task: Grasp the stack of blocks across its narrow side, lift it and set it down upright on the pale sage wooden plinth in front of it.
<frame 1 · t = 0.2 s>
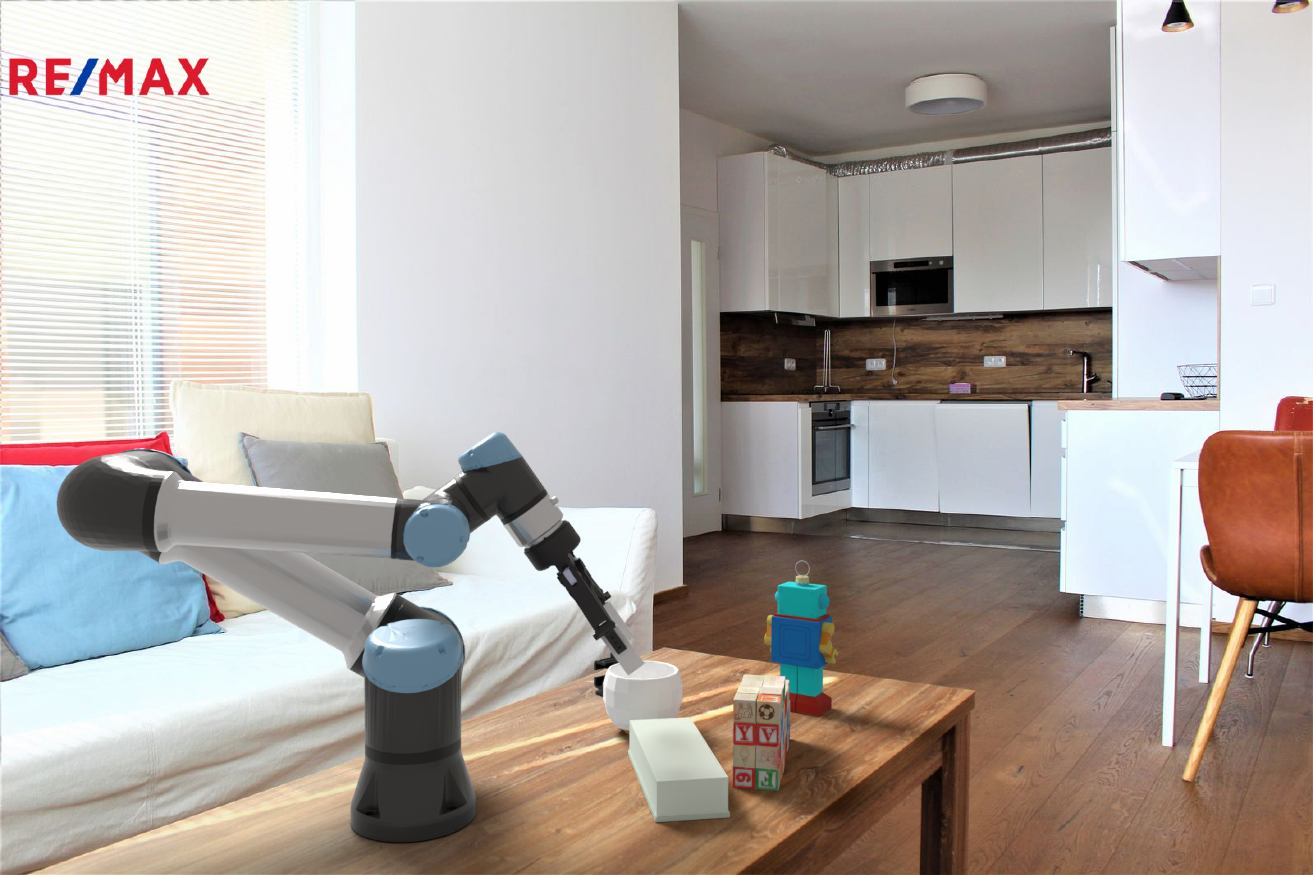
hand: (631, 654, 145), 16 cm above the table, tool tilted 35°, fingers open, 13 cm apart
cup: (642, 732, 161), on the table
stack of blocks: (763, 764, 148), on the table
plinth: (674, 783, 139), on the table
toy robot: (801, 710, 172), on the table
end cap: (626, 697, 180), on the table
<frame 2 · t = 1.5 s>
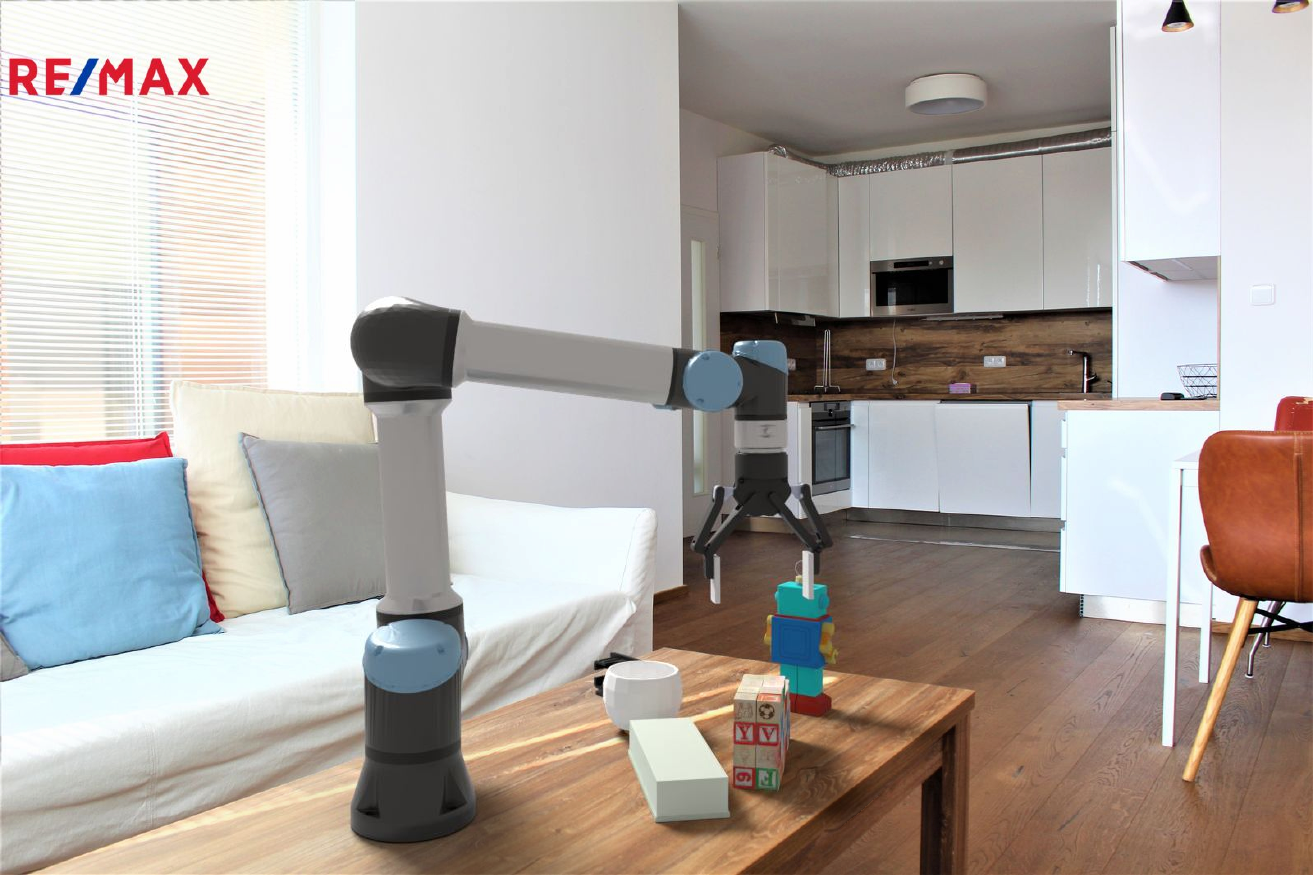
hand: (762, 599, 147), 23 cm above the table, tool pointing down, fingers open, 13 cm apart
nothing on the table moved.
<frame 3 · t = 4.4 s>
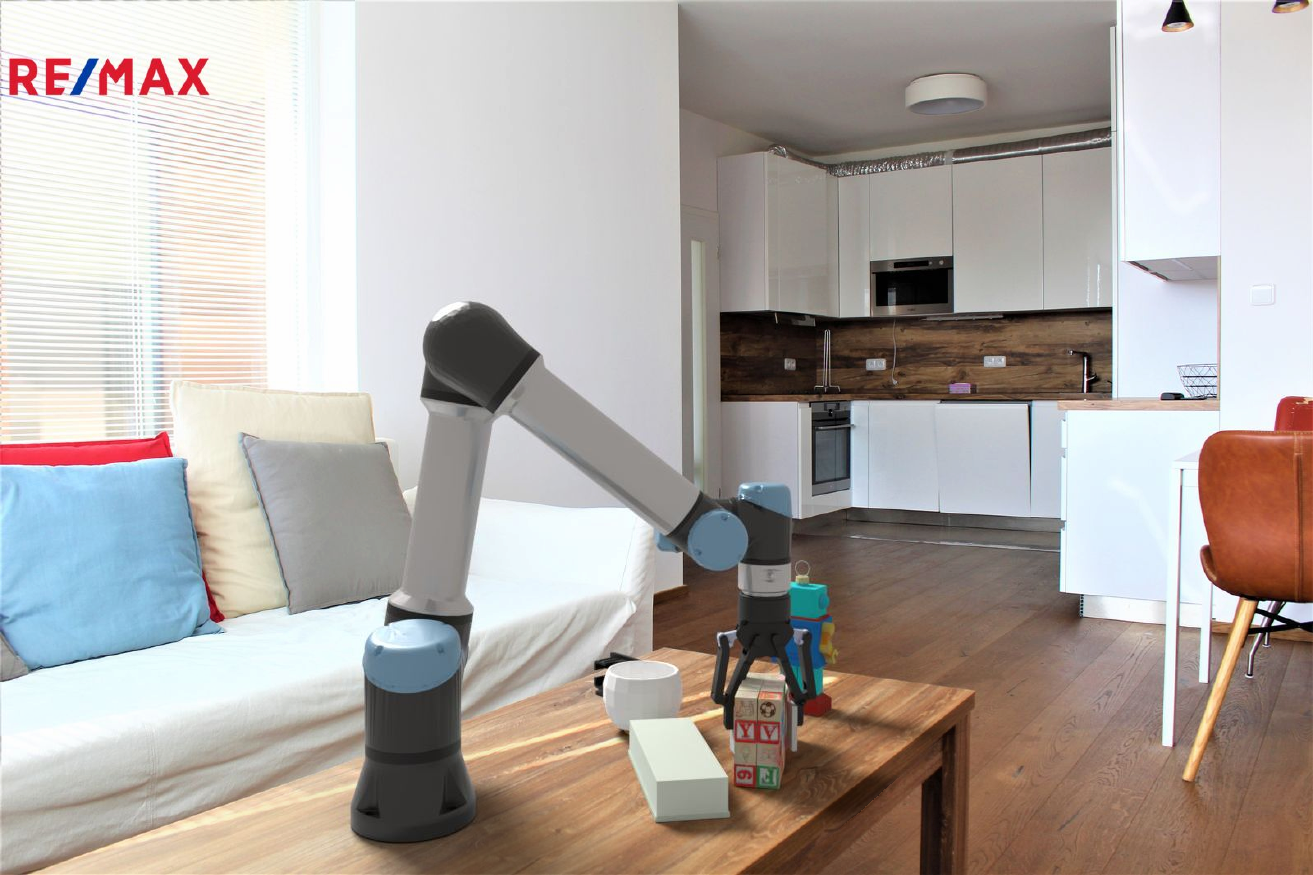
hand: (763, 749, 148), 2 cm above the table, tool pointing down, fingers closed on stack of blocks, 8 cm apart
stack of blocks: (763, 761, 148), on the table, touching gripper
everything else where it was.
when the fingers open (8 cm above the table, at t = 10.1 s): stack of blocks drops 1 cm, resting on plinth.
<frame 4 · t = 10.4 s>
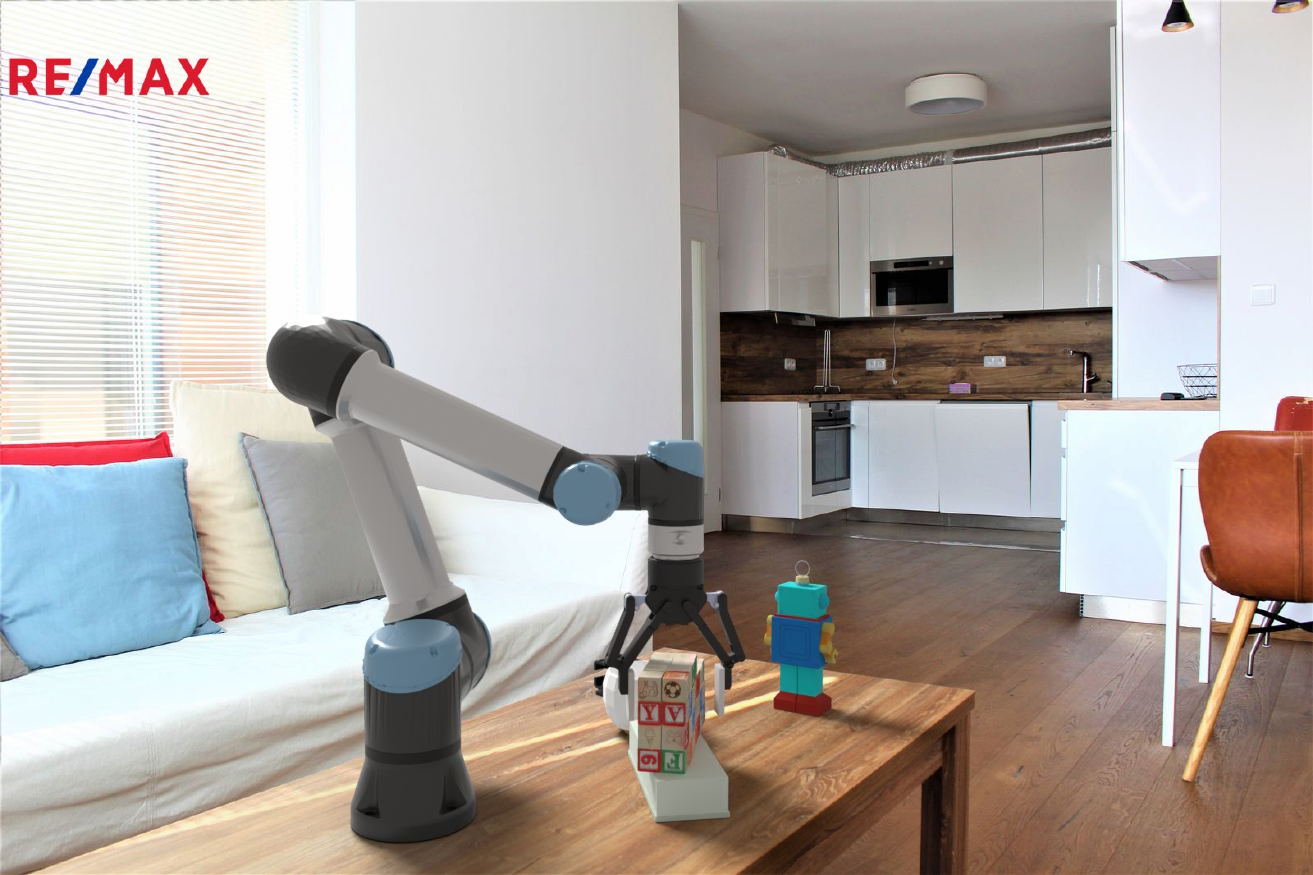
hand: (675, 715, 139), 9 cm above the table, tool pointing down, fingers open, 11 cm apart
stack of blocks: (673, 746, 140), point 5 cm above the table, touching plinth
everything else where it was.
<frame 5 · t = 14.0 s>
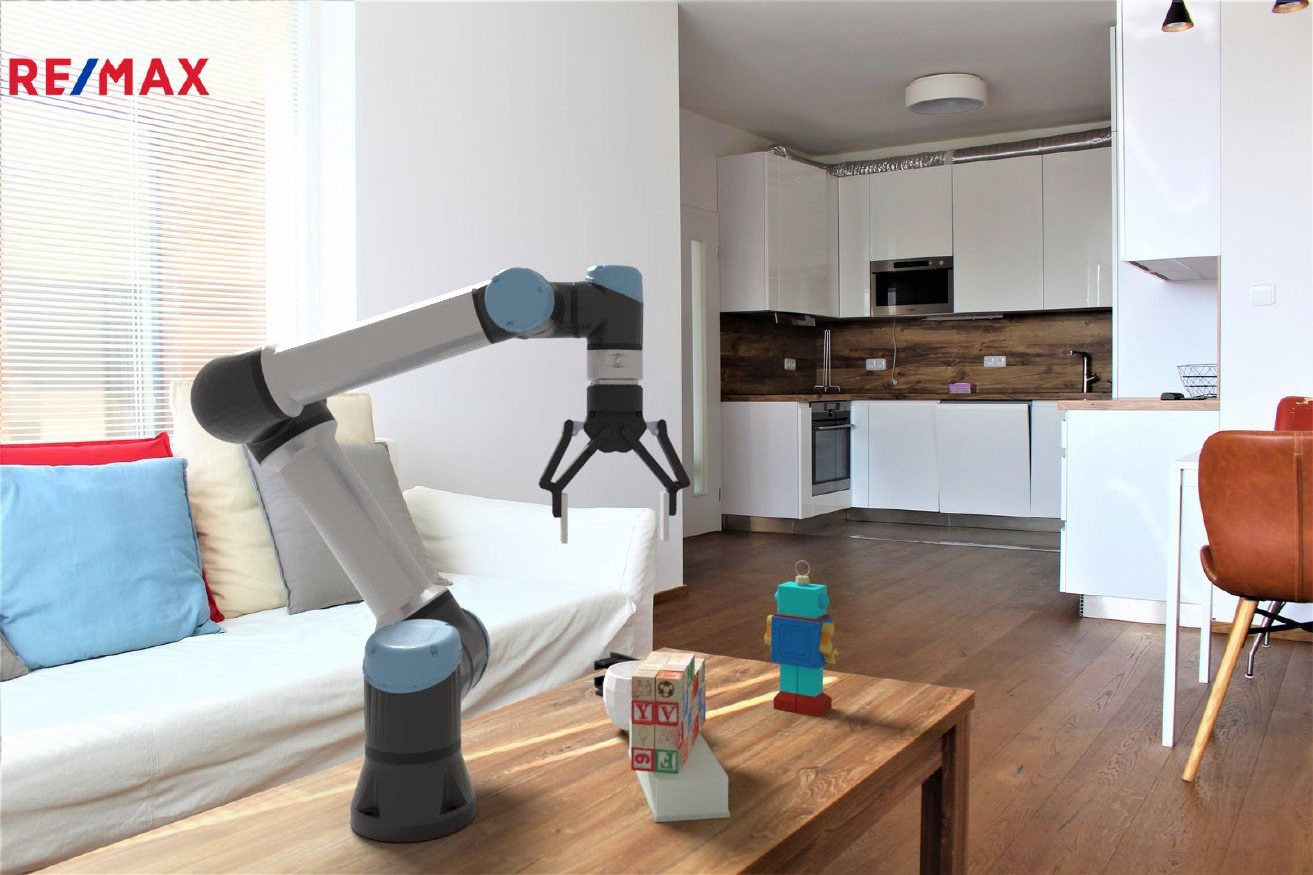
hand: (614, 541, 139), 33 cm above the table, tool pointing down, fingers open, 13 cm apart
nothing on the table moved.
at the end: stack of blocks inside the target area on the plinth (1.0 cm from its centre), point 4.8 cm above the plinth's base; stack of blocks tilted 0°; the gripper is holding nothing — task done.
